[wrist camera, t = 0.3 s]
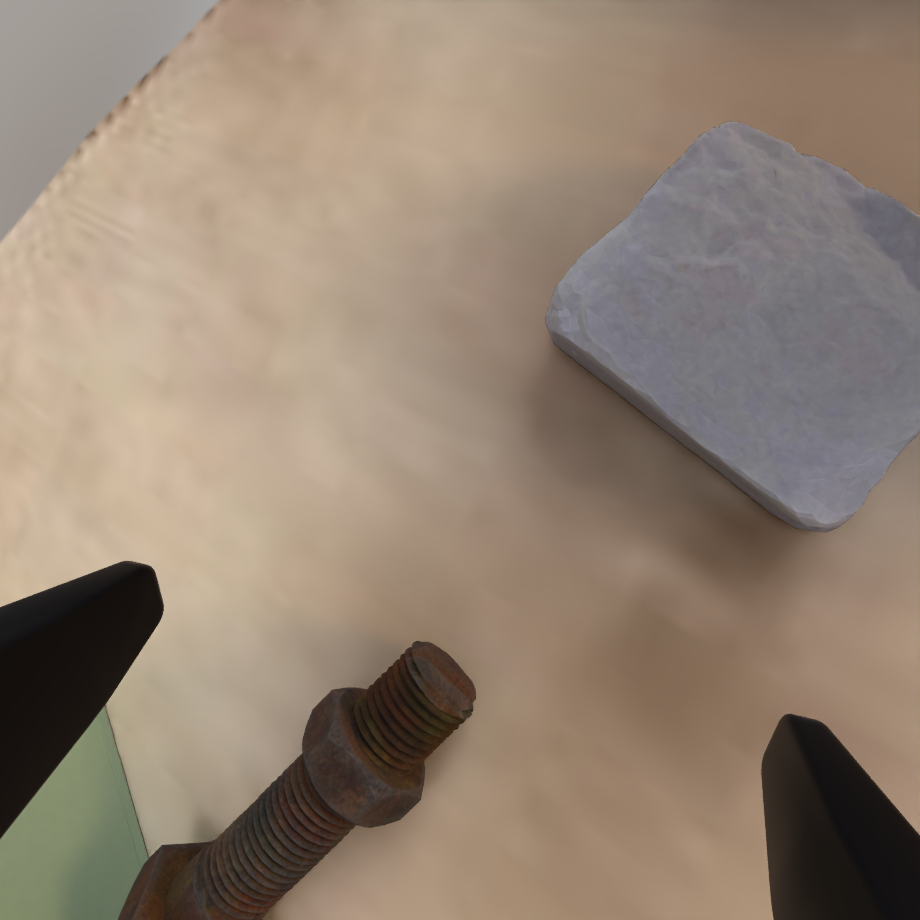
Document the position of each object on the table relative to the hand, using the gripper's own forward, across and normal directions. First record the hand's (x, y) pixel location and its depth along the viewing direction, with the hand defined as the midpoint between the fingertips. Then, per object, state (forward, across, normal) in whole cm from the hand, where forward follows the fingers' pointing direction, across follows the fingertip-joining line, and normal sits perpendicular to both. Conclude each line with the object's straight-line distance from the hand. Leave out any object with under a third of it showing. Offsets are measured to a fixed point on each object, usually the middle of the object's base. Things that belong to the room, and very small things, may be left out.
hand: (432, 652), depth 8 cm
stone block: (+17, -7, -1) cm, 18 cm away
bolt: (+8, +6, +17) cm, 19 cm away
